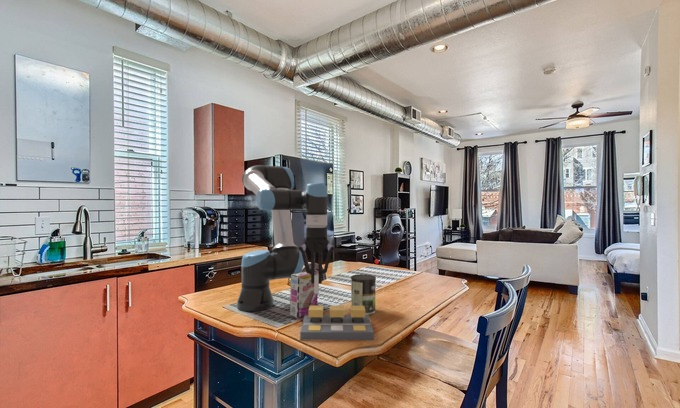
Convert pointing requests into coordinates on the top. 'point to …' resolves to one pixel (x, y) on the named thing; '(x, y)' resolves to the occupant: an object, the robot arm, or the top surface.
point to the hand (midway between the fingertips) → (316, 292)
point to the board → (336, 329)
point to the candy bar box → (301, 294)
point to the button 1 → (315, 312)
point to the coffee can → (363, 292)
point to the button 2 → (336, 313)
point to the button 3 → (357, 313)
